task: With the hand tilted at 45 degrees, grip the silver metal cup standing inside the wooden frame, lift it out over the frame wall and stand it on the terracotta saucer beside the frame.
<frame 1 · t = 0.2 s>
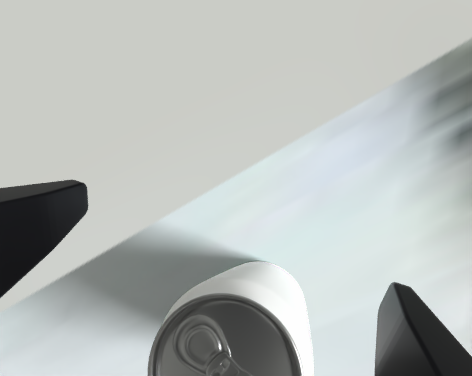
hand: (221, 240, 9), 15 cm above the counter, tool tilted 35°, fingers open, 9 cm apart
can: (260, 306, 23), on the counter
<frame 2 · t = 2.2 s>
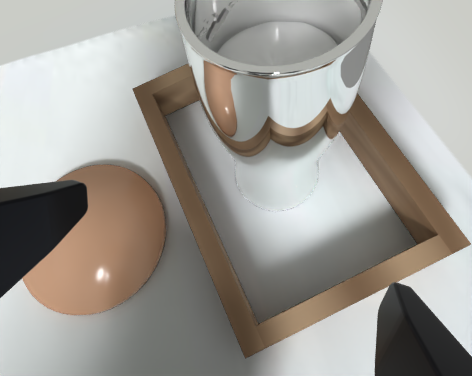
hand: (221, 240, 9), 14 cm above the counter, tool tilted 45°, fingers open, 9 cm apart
silver metal cup: (276, 173, 24), resting in wooden frame
terracotta saucer: (94, 235, 24), on the counter
wooden frame: (276, 172, 24), on the counter
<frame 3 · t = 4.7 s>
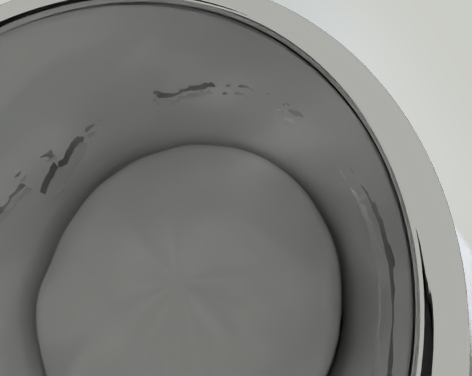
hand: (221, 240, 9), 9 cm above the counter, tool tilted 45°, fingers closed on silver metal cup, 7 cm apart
silver metal cup: (238, 300, 17), resting in wooden frame, touching gripper
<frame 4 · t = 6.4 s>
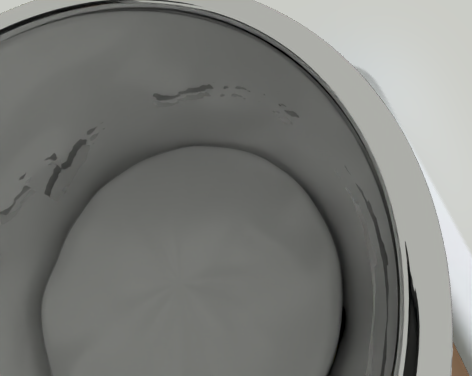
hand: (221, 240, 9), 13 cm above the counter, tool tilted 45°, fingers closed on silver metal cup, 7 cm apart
silver metal cup: (244, 301, 17), point 4 cm above the counter, touching gripper
wooden frame: (290, 302, 21), on the counter
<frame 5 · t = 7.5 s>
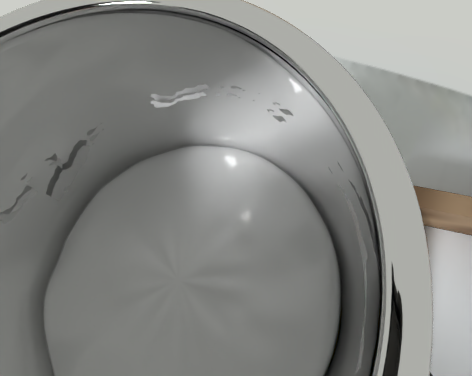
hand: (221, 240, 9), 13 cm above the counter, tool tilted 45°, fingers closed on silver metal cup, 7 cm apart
silver metal cup: (247, 301, 17), point 4 cm above the counter, touching gripper
when the fingers open (10 cm above the counter, at t = 8.5 s): silver metal cup stays where it is, resting on terracotta saucer.
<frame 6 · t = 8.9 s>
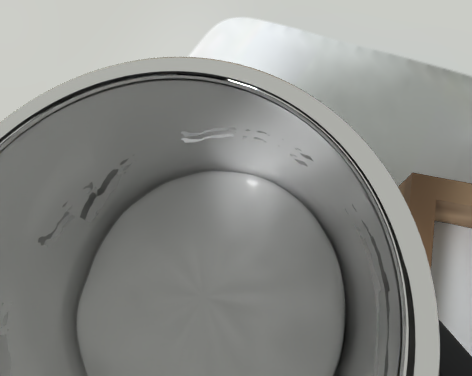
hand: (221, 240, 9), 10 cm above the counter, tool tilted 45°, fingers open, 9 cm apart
silver metal cup: (245, 304, 18), resting on terracotta saucer
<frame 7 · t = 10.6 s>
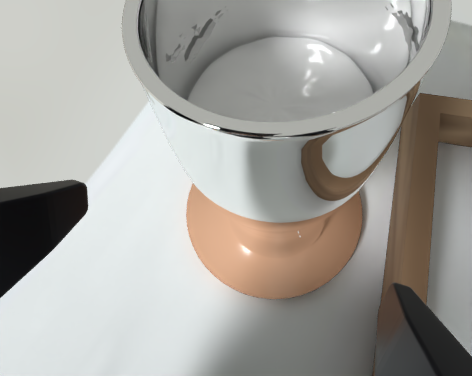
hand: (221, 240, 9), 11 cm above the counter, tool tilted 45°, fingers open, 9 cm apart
silver metal cup: (276, 211, 21), resting on terracotta saucer
terracotta saucer: (271, 209, 21), on the counter
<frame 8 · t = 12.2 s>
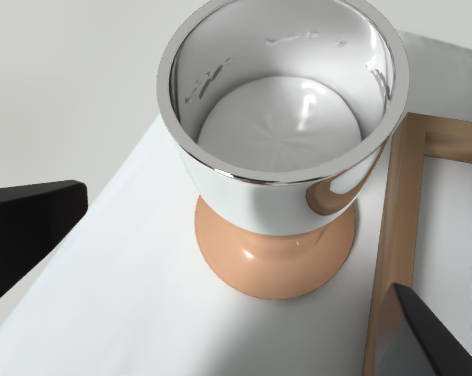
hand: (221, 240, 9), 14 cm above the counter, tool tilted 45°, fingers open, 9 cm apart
silver metal cup: (276, 219, 23), resting on terracotta saucer
terracotta saucer: (272, 217, 23), on the counter
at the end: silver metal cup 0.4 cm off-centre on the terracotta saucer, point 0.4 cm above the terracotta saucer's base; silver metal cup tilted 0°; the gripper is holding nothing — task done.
